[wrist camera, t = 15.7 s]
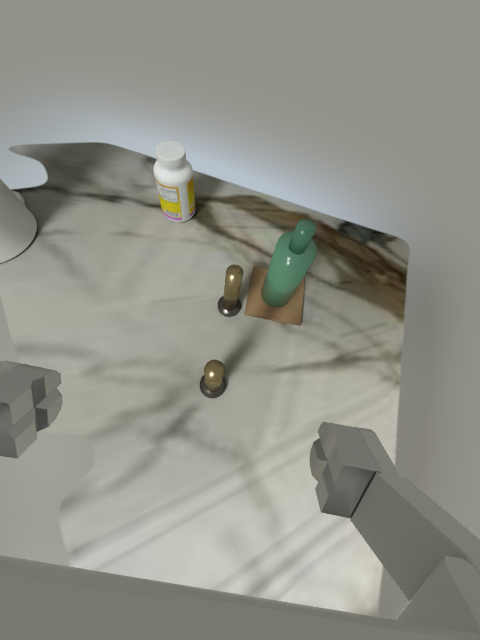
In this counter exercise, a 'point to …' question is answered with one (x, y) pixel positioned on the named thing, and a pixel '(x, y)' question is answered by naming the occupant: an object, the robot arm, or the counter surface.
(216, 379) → the post
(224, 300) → the post
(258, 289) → the plate
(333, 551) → the counter surface
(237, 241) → the counter surface
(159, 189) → the supplement bottle
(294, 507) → the counter surface
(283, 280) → the bottle
